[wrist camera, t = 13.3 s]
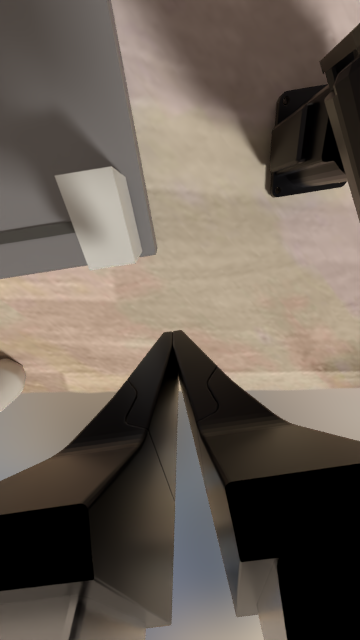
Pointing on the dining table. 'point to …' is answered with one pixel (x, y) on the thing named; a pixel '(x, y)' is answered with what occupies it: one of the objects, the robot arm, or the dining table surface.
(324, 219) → the dining table surface
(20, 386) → the salt shaker
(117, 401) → the robot arm
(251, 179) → the dining table surface
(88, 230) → the block
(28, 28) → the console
